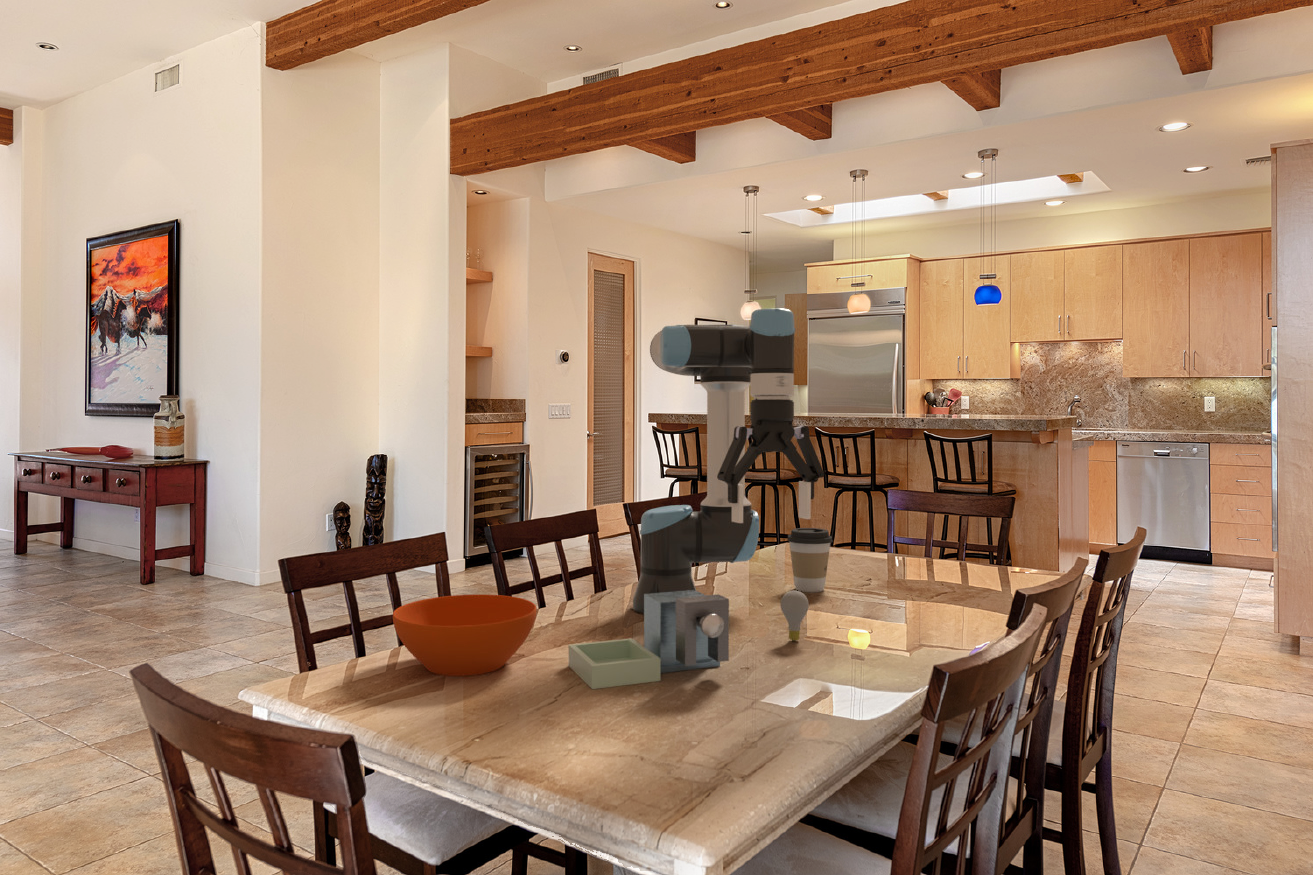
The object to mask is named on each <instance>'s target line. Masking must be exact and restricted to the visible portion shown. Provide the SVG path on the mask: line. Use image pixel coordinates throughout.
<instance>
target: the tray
mask: <svg viewBox="0 0 1313 875" xmlns="http://www.w3.org/2000/svg"><path fill="white" fill-rule="evenodd" d="M568 667H569V668H570V669H571V670H572V671H573V672H574V673H575V674H576V675H577V676H578V677H579V678H580V679H581V680H582V681H583V682H584V683H585V684H587V686H588V687H589V688H591V690H596V689H604V688H614V687H623V686H629V685H637V684H638V685H639V684H645V683H646V684H647V683H654V682H661V673H660V658H659V657H658V656H656V655H655V654H653V653H652V652H651V651H649V650H648V649H646V648H645V647H644V645H642V644H641V643H640V642H638V641H636V640H635V639H634V638H631V637H630V638H623V639H612V640H603V641H601V640H600V641H592V642H582V643H574V644H568Z"/></svg>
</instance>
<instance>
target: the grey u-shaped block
mask: <svg viewBox="0 0 1313 875" xmlns="http://www.w3.org/2000/svg"><path fill="white" fill-rule="evenodd" d="M705 595H706V594H705ZM729 599H730V598H727V597H725V596H724V595H721V594H709V595H708V594H707V595H706V596H694V597H682V598H676V660H677V661H679V662H680V663H682V664H683V665H685V666H688V665H696V617H700V616H706V615H708V614H716V615H718V616H720V617H721V618H722V620H723V622H724V629H723V631H722V633H721V634H720V635H719V636H718V637H715V638H710V637H708V656H709V657H711V658H712V659H714V660H716V661H717V662H720V663H721V662H729V661H730V659H729V657H730V656H729V651H730V650H729V649H730V646H729V644H730V643H729V642H730V641H729V640H730V639H729V638H730V626H729V625H730V623H729V622H730V620H729V619H730V618H729V617H730V610H729V609H730V607H729V606H730V600H729Z"/></svg>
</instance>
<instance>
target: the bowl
mask: <svg viewBox="0 0 1313 875" xmlns="http://www.w3.org/2000/svg"><path fill="white" fill-rule="evenodd" d="M537 608H538V607H537V605H536V604H535V603H534V602H532V601H531V600H528V599H525V598H521V597H517V596H516V597H515V596H510V595H502V594H501V595H500V594H456V595H445V596H438V597H437V596H436V597H430V598H425V599H420V600H415V601H412V602H409V603H406V604H403V605H401V606H399V607H398V608H397V607H396V609H394V611H393V613H392V621H393V622H392V623H393V627H394V629H395V632H396V634H397V636H398V638H399V640H400V641H401V643H402V644H403V646H404V647H405V648H406V650H407V651H408V652H409V653H410V654H411V655H412V656H413V658H415V659H416V660H417V661H418V662H420V663H421V664H422V665H423V666H424V667H425V668H426V669H427V670H428V671H429V672H430V673H433V674H437V675H441V676H448V677H449V676H453V677H464V676H466V677H467V676H476V675H482V674H486V673H491V672H494V671H497V670H499V669H501V668H502V667H504V666H505V665H506V663H507V662H508V661H509V659H511V658H512V657H513V655H514V654H516V652H517V651H518V650H520V648H521V647H522V645H523V644H524V643H525V641H526V640H527V638H528V637H529V635H530V632H531V631H532V629H533V627H534V624H535V621H536V617H537V612H538V609H537Z"/></svg>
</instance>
